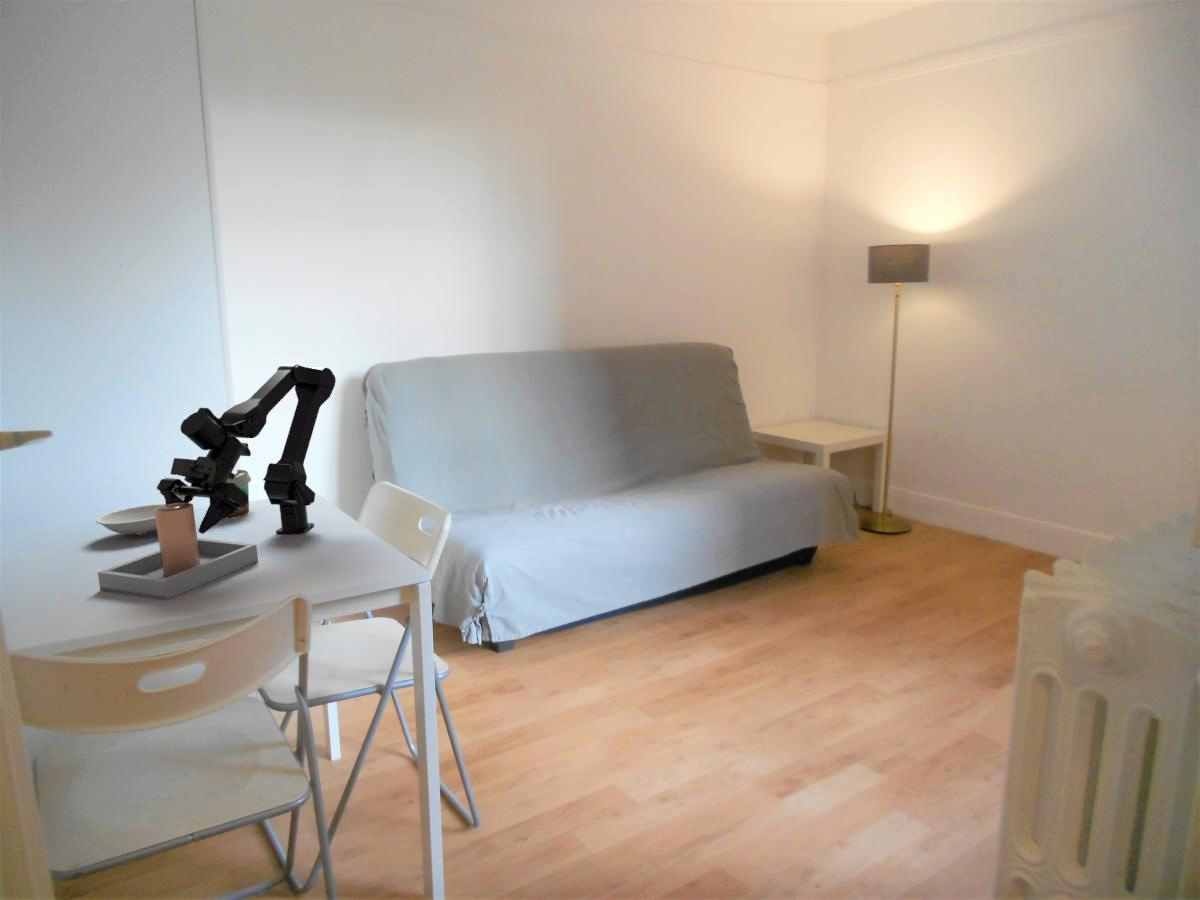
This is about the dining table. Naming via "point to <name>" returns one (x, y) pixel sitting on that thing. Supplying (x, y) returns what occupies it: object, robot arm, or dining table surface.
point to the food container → (242, 482)
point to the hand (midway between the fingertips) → (182, 530)
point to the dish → (131, 520)
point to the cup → (177, 537)
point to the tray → (150, 581)
